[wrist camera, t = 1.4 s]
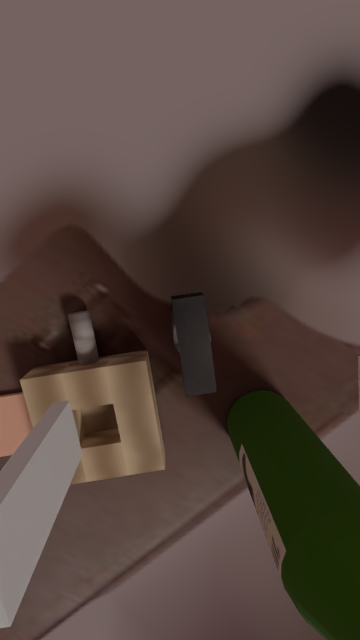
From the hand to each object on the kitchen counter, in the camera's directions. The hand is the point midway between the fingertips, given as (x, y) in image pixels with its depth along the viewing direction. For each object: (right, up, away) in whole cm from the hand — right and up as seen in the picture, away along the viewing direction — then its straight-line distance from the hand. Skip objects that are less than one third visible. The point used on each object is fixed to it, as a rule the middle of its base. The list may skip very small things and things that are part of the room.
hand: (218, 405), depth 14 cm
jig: (-12, -5, +24) cm, 28 cm away
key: (-1, +5, +23) cm, 24 cm away
